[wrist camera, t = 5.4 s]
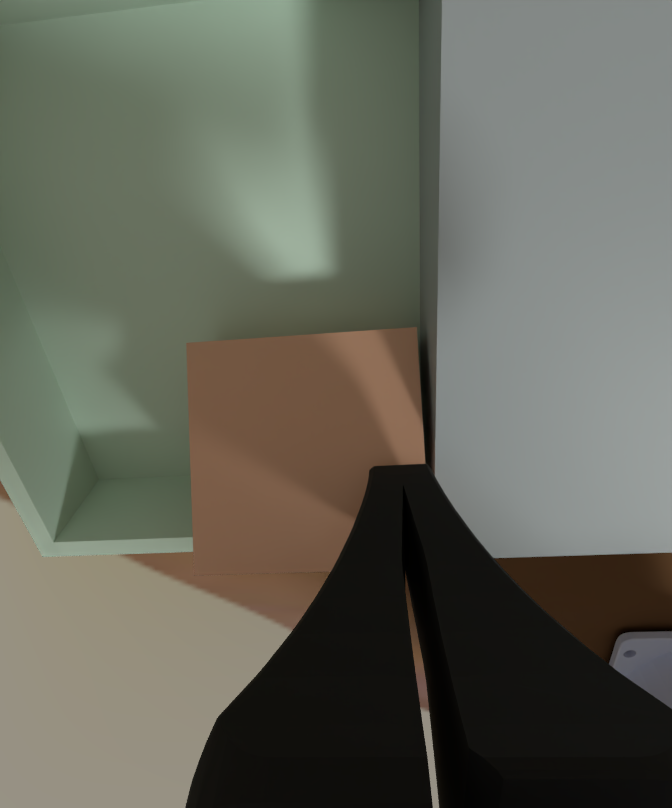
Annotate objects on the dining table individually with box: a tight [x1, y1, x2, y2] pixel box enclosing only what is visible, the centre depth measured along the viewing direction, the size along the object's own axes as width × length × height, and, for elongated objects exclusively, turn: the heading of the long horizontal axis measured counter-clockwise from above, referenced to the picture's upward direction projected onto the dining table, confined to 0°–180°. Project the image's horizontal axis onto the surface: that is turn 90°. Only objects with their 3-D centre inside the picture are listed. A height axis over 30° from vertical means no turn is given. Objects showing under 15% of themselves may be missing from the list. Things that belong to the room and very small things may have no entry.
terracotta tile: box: [186, 327, 425, 576], centre depth 13 cm, size 6×6×2 cm
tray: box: [0, 0, 420, 557], centre depth 13 cm, size 14×12×4 cm
